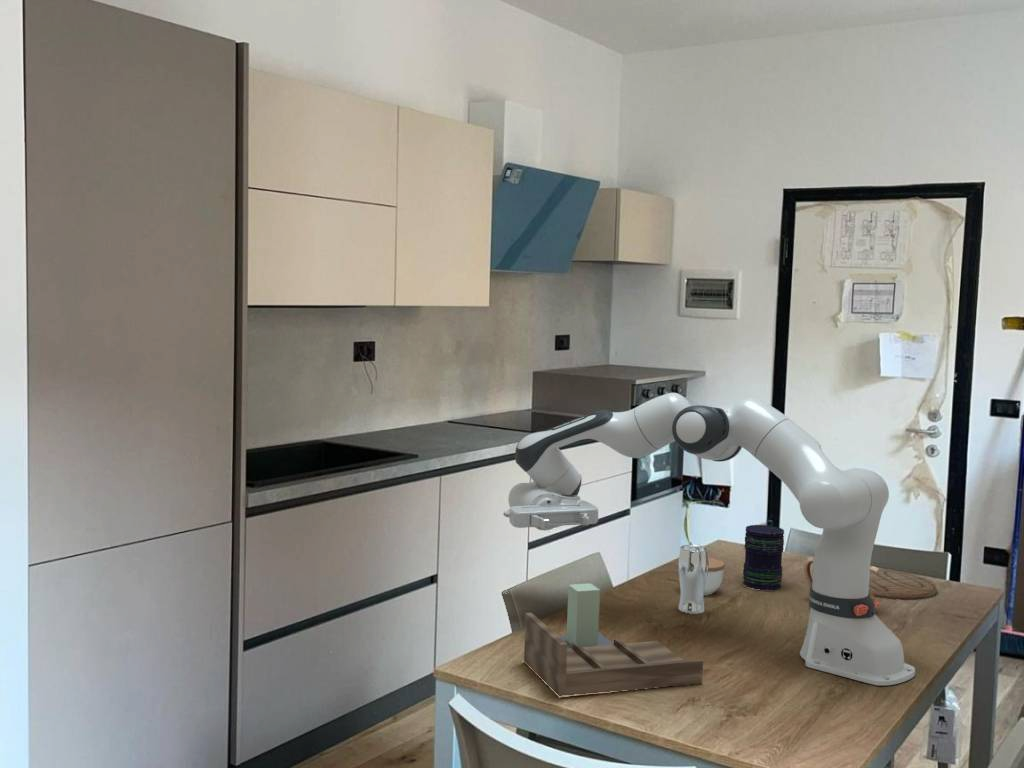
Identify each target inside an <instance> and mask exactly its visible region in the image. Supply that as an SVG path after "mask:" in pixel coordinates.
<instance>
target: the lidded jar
mask: <svg viewBox="0 0 1024 768" xmlns="http://www.w3.org/2000/svg"><path fill="white" fill-rule="evenodd" d="M724 569H725V562H724V561H722V560H720V559H716V558H712V557H709V567H708V575H707V580H706V585H705V589H704V595H703V596H709V595H708V594H712V593H713V594H714V592H716V591H717V590H718V589H719V587H720V586H721V584H722V582H723V578H724ZM713 594H712V595H713Z"/></svg>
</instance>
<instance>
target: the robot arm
mask: <svg viewBox="0 0 1024 768" xmlns="http://www.w3.org/2000/svg"><path fill="white" fill-rule="evenodd" d="M586 439H590V440H594V441H597V442H599V443H602V444H603V445H605V446H607V447H608V448H610V449H612V450H613V451H614V452H617V453H618V454H620V455H622V456H625V457H628V458H632V459H641V458H644V457H648V456H650V455H653V454H654V453H655V452H658V451H659V450H661V449H663V448H664V447H666V446H668V445H670V444H672V443H675V442H676V444H677V446H678V447H680V449H682V450H683V451H685V452H686V453H689V454H692V455H694V456H695V457H697V458H700V459H704V460H709V461H712V462H727V461H729V460H731V459H734V458H735V457H737V456H738V454H739V453H740V452H741V450H742V449H745V450H746V451H747V452H748V453H749V454H750V455H752V457H754V458H755V459H756V460H758V462H760V463H761V464H762V465H763V466H764V467H766V468H767V469H768V470H769V471H770V472H772V473H773V474H774V475H775V476H776V477H777V478H778V479H779V480H781V482H782V483H783V484H784V485H785V486H786V487H787V488H788V489H789V490H790V492H791V493H792V495H793V496H794V498H795V499H796V500H797V502H798V503H799V507H800V508H799V509H800V512H801V515H802V517H804V519H805V520H806V522H807V523H809V525H811V526H813V527H814V528H817V529H822V533H821V536H820V539H819V541H818V543H817V545H816V546H815V548H814V552H813V557H814V563H812V565H813V566H812V587H811V588H810V587H809V593H808V594H809V596H808V608H809V616H808V623H807V627H806V633H805V638H804V640H803V643H802V646H801V649H800V651H799V656H800V657H801V658H802V659H804V661H805V663H804V664H805V667H807V668H810V669H813V670H818V671H822V672H825V673H827V674H828V673H829V674H832V675H836V676H839V677H843V678H848V679H851V680H855V681H859V682H863V683H866V684H870V685H872V686H873V685H874V686H892V685H898V684H900V683H904V682H906V681H909V680H912V679H913V678H914V677H915V675H916V668H915V666H913V665H911V664H909V663H906V662H905V655H904V648H903V645H902V644H903V643H902V642H901V640H900V639H899V638H898V637H897V635H896V634H894V633H893V631H891V629H890V628H888V626H887V625H886V624H885V623H884V622H883V621H882V620H881V619H880V618H879V617H878V616H877V615H876V613H877V612H876V608H879V607H881V605H880V603H881V601H880V600H878V601H874V603H873V601H872V599H871V596H870V594H869V593H868V592H869V577H870V566H871V563H872V562H871V561H872V556H873V555H872V553H873V549H874V546H875V545H874V544H875V541H876V538H877V533H878V531H879V526H880V522H881V518H882V515H883V512H884V509H885V507H886V506H887V504H888V502H889V501H888V500H889V497H890V492H889V491H890V490H889V487H888V484H887V482H886V480H885V479H884V478H883V476H881V475H879V474H878V473H877V472H875V471H873V470H868V469H865V468H859V467H857V468H856V467H855V468H850V469H846V470H842V469H840V468H838V467H836V466H835V465H834V464H833V463H832V462H831V460H829V458H828V457H827V456H826V455H825V453H824V452H823V450H822V445H821V444H820V443H819V441H818V440H817V439H816V438H814V437H813V435H811V434H809V433H808V432H807V431H806V430H804V429H803V428H802V427H801V426H799V425H798V424H797V423H796V422H794V420H792V419H790V418H789V417H788V416H786V415H785V414H784V413H783V412H781V411H780V410H779V409H777V408H775V407H774V406H772V405H770V404H769V403H766V402H764V401H763V400H762V399H758V398H756V397H749V398H748V397H747V398H745V399H743V400H741V401H739V402H738V403H736V405H734V407H732V409H730V410H729V411H724V409H722V408H721V407H714V406H707V405H700V404H699V405H697V404H695V405H691V404H690V402H689V401H688V400H687V398H685V396H683V395H682V394H680V393H677V392H667V393H666V394H662V395H659V396H656V397H654V398H652V399H649V400H648V401H645V402H644V403H641V404H639V405H638V406H636V407H634V408H631V409H629V410H626V411H618V412H617V411H616V412H615V411H610V410H607V409H602V410H598V411H595V412H591V413H588V414H585V415H583V416H580V417H578V418H575V419H572V420H568V421H566V422H564V423H561V424H559V425H557V426H553V427H551V428H547V429H542V430H538V431H534V432H531V433H530V434H527V435H526V436H524V437H523V438H522V439H521V440H519V442H517V444H516V447H515V455H514V456H515V458H514V459H515V463H516V464H517V465H518V466H519V468H521V469H522V470H523V472H525V473H527V475H528V477H530V479H531V480H532V481H530V482H519V483H517V484H515V485H513V486H512V487H511V489H510V490H509V493H508V500H507V501H508V505H509V509H508V510H507V511H503V516H504V517H505V518H509V519H508V520H509V523H510V524H511V526H512V527H514V528H517V529H521V528H522V529H523V528H525V529H527V528H535V529H537V530H539V531H546V532H547V531H550V530H553V529H555V528H560V527H562V526H563V527H564V526H577V525H578V526H579V525H580V526H589V525H596V524H597V523H598V521H599V508H598V507H597V506H596V505H594V504H592V503H591V502H589V501H586V500H583V499H581V497H580V496H579V492H580V490H581V486H582V480H583V479H582V475H581V474H580V473H579V471H578V470H577V469H576V467H575V466H574V465H573V464H572V462H571V461H569V459H568V457H566V455H565V454H564V453H563V452H562V451H561V450H560V448H562V447H564V446H567V445H569V444H574V443H575V442H578V441H580V440H586Z"/></svg>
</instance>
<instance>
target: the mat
mask: <svg viewBox="0 0 1024 768" xmlns="http://www.w3.org/2000/svg"><path fill="white" fill-rule="evenodd" d="M556 635H557V636H558V634H556ZM559 635H560V636H558V637H560V638H561V639H562V640H563V641H564V642H565V643H566V644H567V649H569V648H572V645H571V644H570V643H569V642H568V641H567V640H566V639H567V634H559ZM561 635H562V636H563V637H562V636H561ZM603 645H614V642H612V641H611V640H610V639H608V638H607V637H606V636H605V635H603V634H602V633H601V632H599V631H598V646H603Z"/></svg>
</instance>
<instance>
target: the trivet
mask: <svg viewBox="0 0 1024 768" xmlns="http://www.w3.org/2000/svg"><path fill="white" fill-rule="evenodd" d="M877 568H878V569H879V571H878V572H877V573H876V574H875V573H874V572H870V577H869V589H870V590H871V592H872V593H873V595H874V597H875V598H878V597H879V598H880V599H885V598H886V600H896V599H900V601H901V600H902V601H919V600H926V599H925V598H927V599H930V598H933V597H935V596H936V595H937V588H938V586H937V584H936V583H934V581H932V580H930V579H929V578H927V577H924V576H920V575H919V574H913V573H910V572H906V571H901V570H894V569H889V568H879V567H877ZM935 594H936V595H935ZM929 597H930V598H929ZM879 598H878V599H879ZM918 599H919V600H918Z"/></svg>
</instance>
